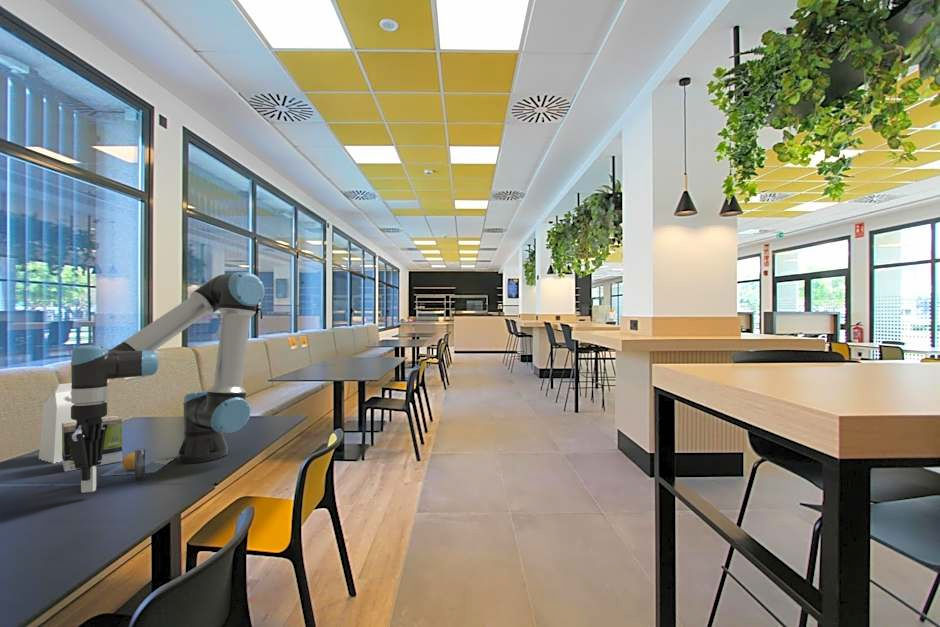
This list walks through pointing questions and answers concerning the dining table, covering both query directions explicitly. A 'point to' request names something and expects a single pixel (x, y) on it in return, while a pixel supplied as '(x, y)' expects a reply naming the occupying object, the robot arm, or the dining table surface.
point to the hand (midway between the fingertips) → (88, 491)
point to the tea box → (111, 443)
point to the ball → (129, 462)
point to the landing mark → (121, 470)
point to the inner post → (139, 464)
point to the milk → (55, 423)
